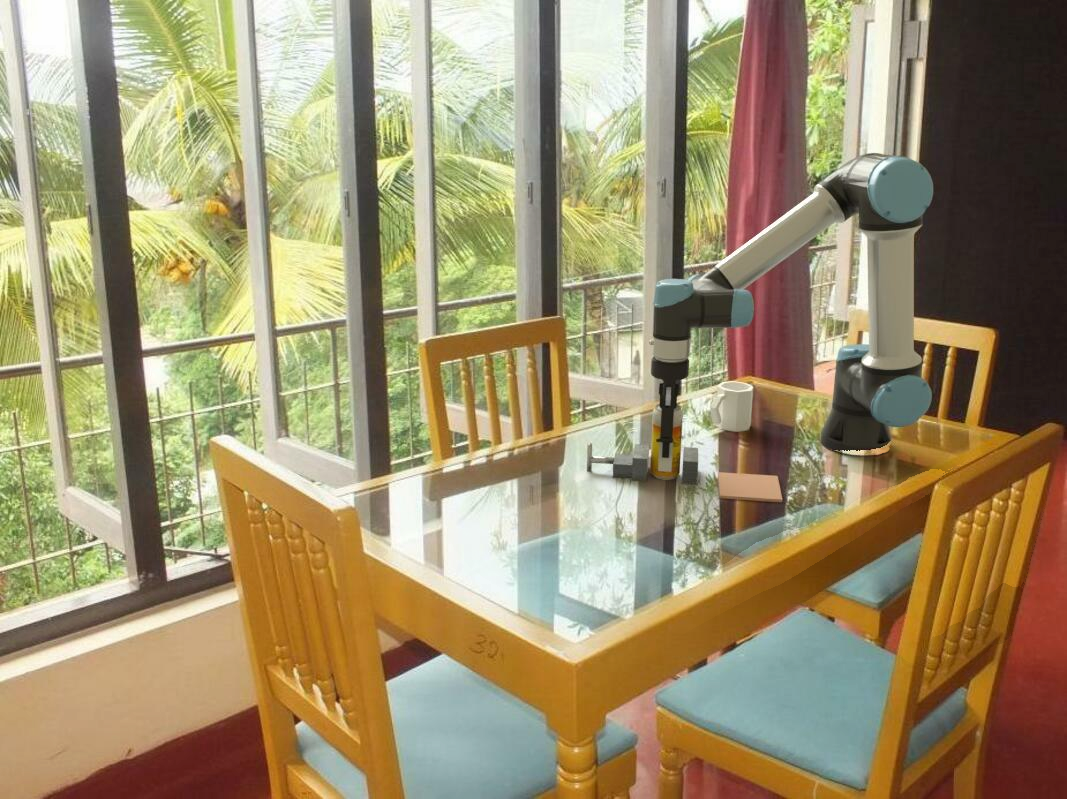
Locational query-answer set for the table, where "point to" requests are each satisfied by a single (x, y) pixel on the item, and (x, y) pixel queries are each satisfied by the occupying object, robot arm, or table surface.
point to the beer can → (676, 444)
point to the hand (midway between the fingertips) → (665, 464)
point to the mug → (732, 406)
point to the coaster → (749, 487)
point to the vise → (644, 464)
